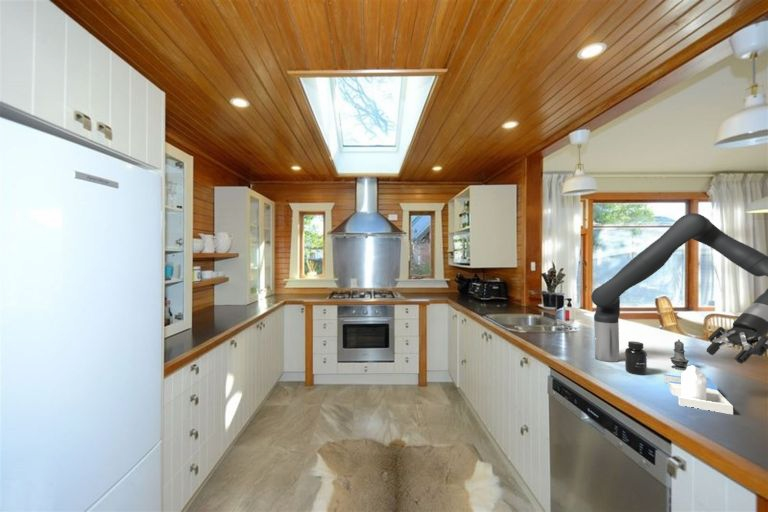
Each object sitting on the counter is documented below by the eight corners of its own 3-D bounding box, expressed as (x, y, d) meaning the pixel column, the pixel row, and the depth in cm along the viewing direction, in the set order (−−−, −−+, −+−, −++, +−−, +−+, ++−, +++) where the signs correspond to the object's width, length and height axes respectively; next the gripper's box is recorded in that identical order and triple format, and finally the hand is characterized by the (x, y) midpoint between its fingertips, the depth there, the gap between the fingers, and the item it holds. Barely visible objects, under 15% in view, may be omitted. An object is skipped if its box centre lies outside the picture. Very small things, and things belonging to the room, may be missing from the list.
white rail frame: (679, 405, 101) (679, 394, 101) (664, 381, 121) (664, 372, 121) (734, 414, 95) (733, 402, 95) (708, 387, 114) (708, 377, 114)
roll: (700, 363, 105) (710, 368, 99) (700, 400, 105) (711, 407, 99) (676, 361, 107) (686, 366, 101) (677, 397, 107) (686, 405, 101)
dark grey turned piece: (693, 370, 131) (692, 341, 131) (676, 370, 132) (675, 340, 133) (682, 366, 137) (682, 337, 137) (666, 365, 138) (666, 337, 138)
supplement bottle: (641, 376, 126) (640, 345, 126) (622, 371, 132) (621, 341, 132) (650, 373, 129) (649, 343, 129) (631, 368, 135) (630, 339, 135)
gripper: (724, 309, 111) (692, 343, 110) (776, 316, 97) (739, 355, 96) (740, 324, 111) (708, 358, 110) (793, 333, 97) (757, 373, 96)
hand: (723, 357), depth 103 cm, fingers open, 8 cm apart
